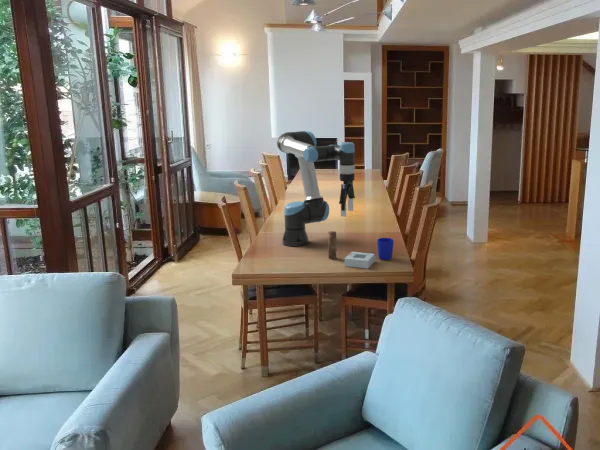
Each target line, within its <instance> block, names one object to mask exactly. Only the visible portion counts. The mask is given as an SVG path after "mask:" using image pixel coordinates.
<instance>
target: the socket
mask: <svg viewBox="0 0 600 450" xmlns="http://www.w3.org/2000/svg"><path fill="white" fill-rule="evenodd" d="M375 258H376V254H375V253H370V252H369V253H368V252H359V251H358V252H357V251H351V252H350V253H349V254H348V255H346V257H344V267H350V268H359V269H366V270H369V268H371V266H372V265H373V264H374V263H375V261H376V259H375Z"/></svg>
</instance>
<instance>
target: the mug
mask: <svg viewBox="0 0 600 450" xmlns="http://www.w3.org/2000/svg"><path fill="white" fill-rule="evenodd" d="M394 241H395V240H394V239H393V238H391V237H381V238H378V239H377V254H378V255H377V256H378V258H379V259H380V260H382V261H387V260H388V261H389V260H391V259H392V258H393V251H394V250H393V249H394Z"/></svg>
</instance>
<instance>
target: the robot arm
mask: <svg viewBox="0 0 600 450" xmlns="http://www.w3.org/2000/svg"><path fill="white" fill-rule="evenodd" d="M276 145H277V148H278V149H279V151H281V152H282V153H284V154H293V155H294V157H295V158H297V161H298V165H299V172H300V175H301V176H300V177H301V181H302V186H303V193H304V197H305V198H304V200H303V201H300V200H299V201H292V202H290V203H287V204H285V205H284V210H283V211H284V213H283V215H284V217H283V218H284V232H283V236H282V240H281V241H282V245H284V246H285V247H286V246H287V247H302V246H306V245H308V244H309V236H308V234H307V231H306V225H307V224H313V223H320V222H324V221H326V220H327V219H328V217H329V216H330V205H329V203H328V202H327V200H324V197H323V196H321V194H320V193H321V192H320V189H319V183H318V179H317V172H316V167H315V163H314V162H323V161H336V160H337V161H339V173H340V174H339V181H341V182H343V183H341V185H340V196H339V201H338V204H339V205H340V217H346V218H347V211H348V212H350V211H351V212H354V199H355V198H356V196H355V191H354V181H355V178H356V177H355V169H356V166H355V157H356V156H355V152H356V149H355V144H354V142H350V141H349V142H348V141H345V142H340V143H339V145H338V144H329V145H321V146H317V139H316V137H315V134H314V133H313V132H312V131H308V130H302V131H289V132H288V131H287V132H284V133H282V134H280V135H279V137H278V139H277V141H276Z"/></svg>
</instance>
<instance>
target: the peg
mask: <svg viewBox="0 0 600 450" xmlns="http://www.w3.org/2000/svg"><path fill="white" fill-rule="evenodd" d="M327 235H328V236H327V237H328V238H327V239H328V240H327V241H328V259H329V260H336V259H337V232H336V231H334V230H333V231H332V230H331V231H328V233H327Z"/></svg>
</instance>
